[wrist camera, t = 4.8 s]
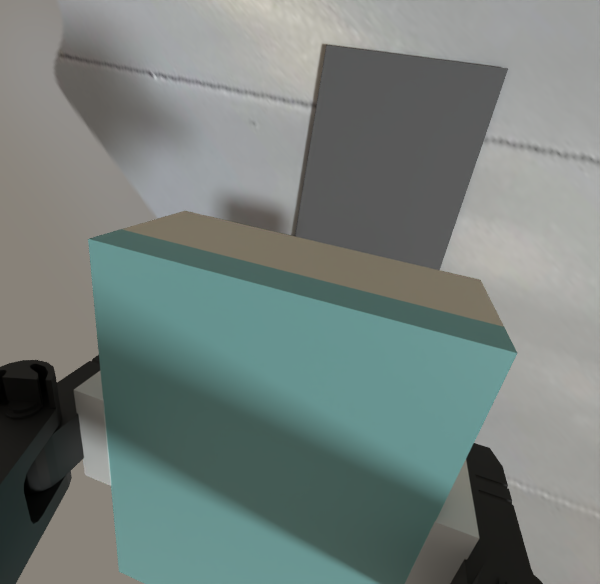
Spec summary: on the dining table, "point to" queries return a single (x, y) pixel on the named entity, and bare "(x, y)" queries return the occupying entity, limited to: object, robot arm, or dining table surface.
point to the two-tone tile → (283, 401)
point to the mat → (394, 151)
